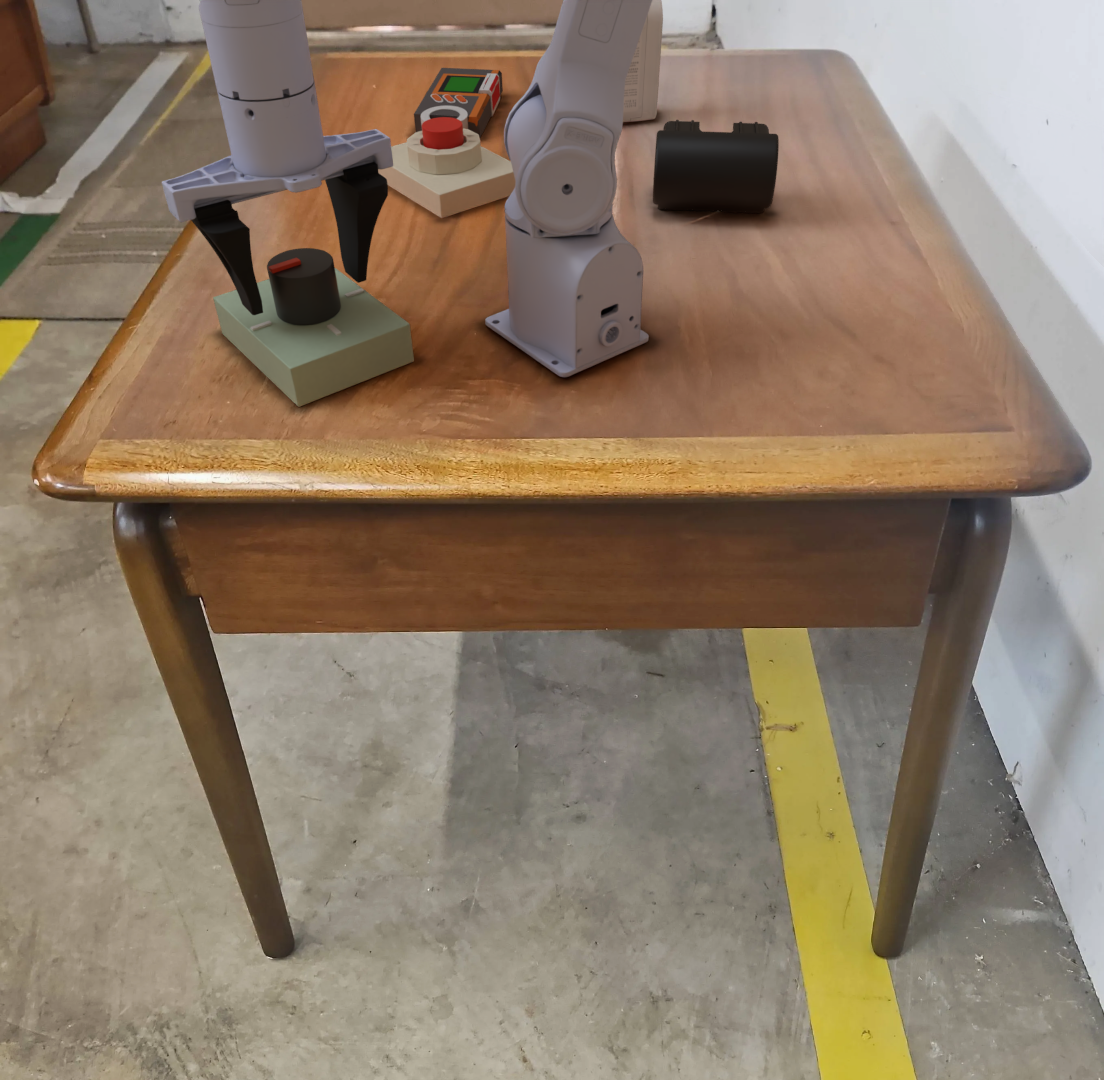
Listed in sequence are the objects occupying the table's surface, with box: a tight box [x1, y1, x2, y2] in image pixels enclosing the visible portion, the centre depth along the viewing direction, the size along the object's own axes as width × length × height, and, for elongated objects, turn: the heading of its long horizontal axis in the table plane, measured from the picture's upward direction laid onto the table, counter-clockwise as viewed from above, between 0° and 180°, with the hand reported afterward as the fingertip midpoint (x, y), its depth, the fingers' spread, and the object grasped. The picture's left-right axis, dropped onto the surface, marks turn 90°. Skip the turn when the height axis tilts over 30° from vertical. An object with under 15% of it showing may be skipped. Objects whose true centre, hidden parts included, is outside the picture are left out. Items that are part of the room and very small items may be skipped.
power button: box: [422, 117, 464, 150], centre depth 91 cm, size 4×4×2 cm
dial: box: [266, 247, 341, 325], centre depth 69 cm, size 4×4×4 cm
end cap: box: [652, 119, 780, 214], centre depth 87 cm, size 10×7×7 cm
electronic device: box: [413, 67, 504, 139], centre depth 105 cm, size 7×3×15 cm
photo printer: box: [623, 0, 664, 123], centre depth 101 cm, size 10×4×12 cm, turn 103°
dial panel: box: [212, 267, 415, 407], centre depth 72 cm, size 12×9×3 cm
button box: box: [378, 129, 516, 219], centre depth 92 cm, size 12×9×4 cm
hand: (305, 291), depth 70 cm, fingers open, 7 cm apart
